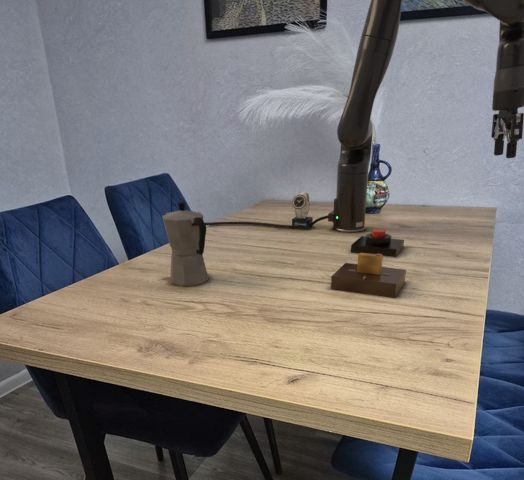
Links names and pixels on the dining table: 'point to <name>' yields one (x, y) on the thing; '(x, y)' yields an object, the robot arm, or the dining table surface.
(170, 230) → the coffeepot
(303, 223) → the watch
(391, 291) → the plate
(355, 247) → the alarm box
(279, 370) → the dining table surface
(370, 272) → the thumbturn
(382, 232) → the arm button
